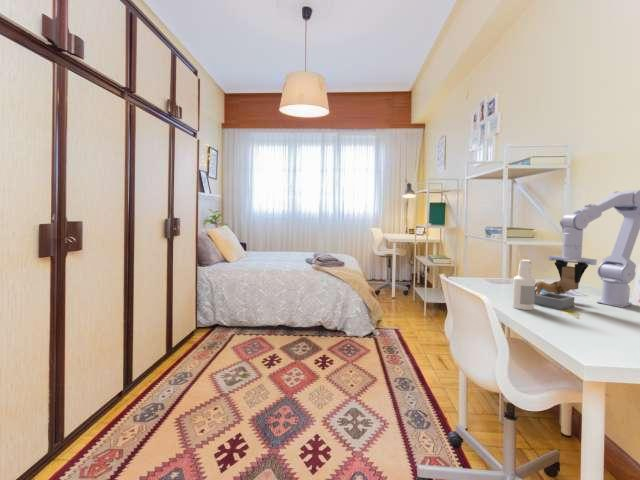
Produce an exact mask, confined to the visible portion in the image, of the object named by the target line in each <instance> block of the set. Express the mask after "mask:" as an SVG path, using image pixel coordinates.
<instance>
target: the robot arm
mask: <svg viewBox="0 0 640 480" xmlns="http://www.w3.org/2000/svg"><path fill="white" fill-rule="evenodd" d="M611 208H614V209H615V210H616V211H617V213H619V214H620V215H622V216H623V219H622V222H621V224H620V228H619V231H618V233H617V236H616V240H615V243H614V246H613V249H612V252H611V254H610V255H609V256H606V257H605V258H602V261H601V263H600V264H599V265H598V267H597V275H598V277H599V278H600V280H602V286H601V287H602V288H601V300H597V301H596V304H597V303H598V304H604V305H609V306H614V307H619V308H625V307H628V306H631V305H632V304H633V302H630V295H631V294H630V290H631V288H630V285H629V284H630V283H631V282H632V281H633V280H634V279H635V277H636V267H637V265H636V263H635V262H634V261H632V259H631V255H632V253H633V250H634V247H635V244H636V241H637V239H638V236H639V232H640V189H636V190H624V191H619V190H618V191H614V192H612V193H609V195H608V196H607V197H605V198H604V199H602V200H601V201H599V202H597V203H596V204H593V203H586V204H584V206H583V207H582V208H580V209H576V210H574V212H573V213H566V214H564V215H563V216H562V217H561V219H560V220H559V225H560V227H561V231H562V233H563V236H562V237H563V238H562V250H561V255H554V254H553V255H552V254H551V255H550V254H549V255H548V261H554V266H555V267H556V269H557V271H558V275H559V277H560V280H561V278H562V267H565V266H568V263H573V264H574V267H575V283H579V284H580V283H581V280H582V277H583V274H584V273H585V271H586V269H587V268H588V267H589V265H591V266H597V263H598V262H597V259H594V258H586V257H582V254H583V253H582V250H583V238H584V229H585V230H586V228H587V227H588V226H589V224H590V222H593V221H595V220H597V219H599V218H600V217H601V216H602V213H604V212H605V211H607V210H609V209H611Z"/></svg>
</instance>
